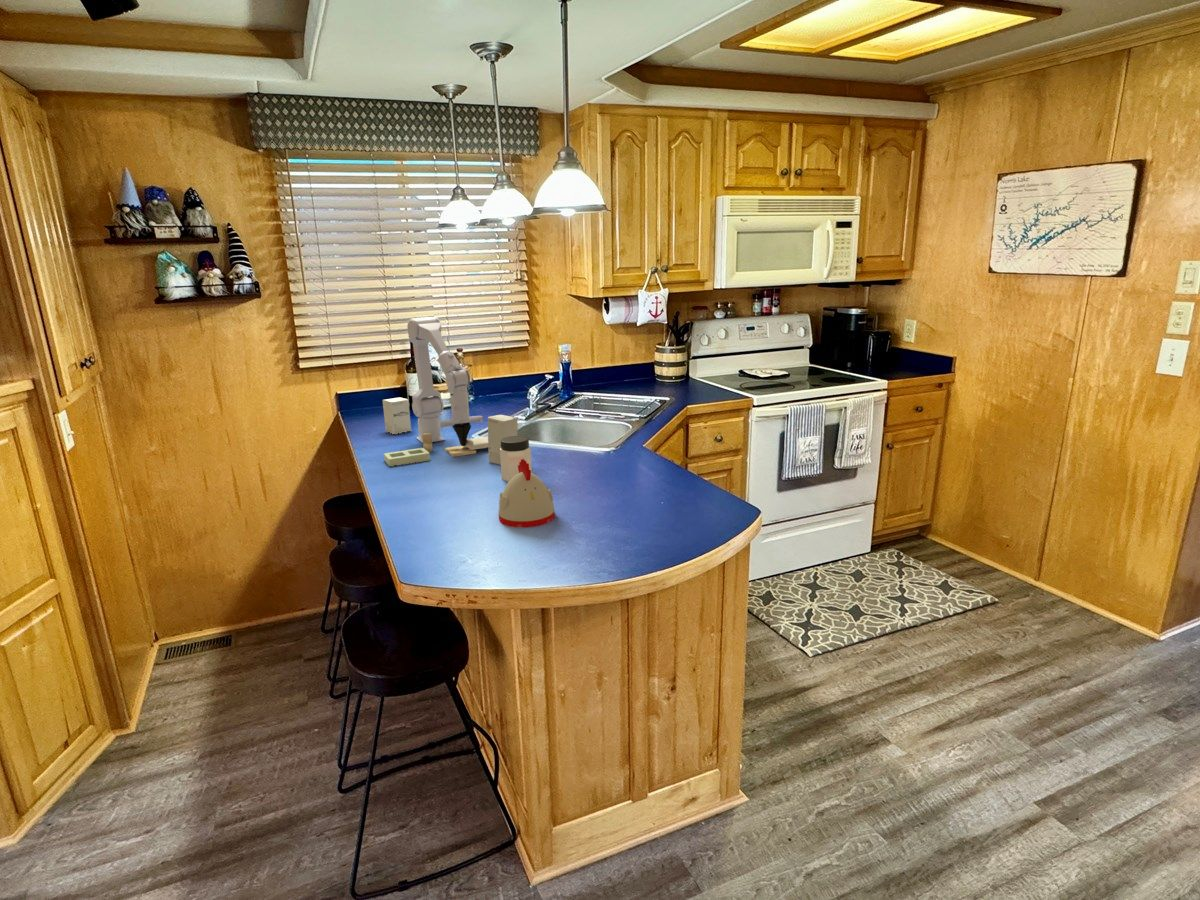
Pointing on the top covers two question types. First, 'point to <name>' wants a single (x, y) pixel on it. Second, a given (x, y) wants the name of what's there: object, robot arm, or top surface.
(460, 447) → the board
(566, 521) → the top surface
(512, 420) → the skincare box
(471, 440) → the lid
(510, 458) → the jar
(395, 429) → the supplement box
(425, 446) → the peg
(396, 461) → the socket board
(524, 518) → the kitchen timer
